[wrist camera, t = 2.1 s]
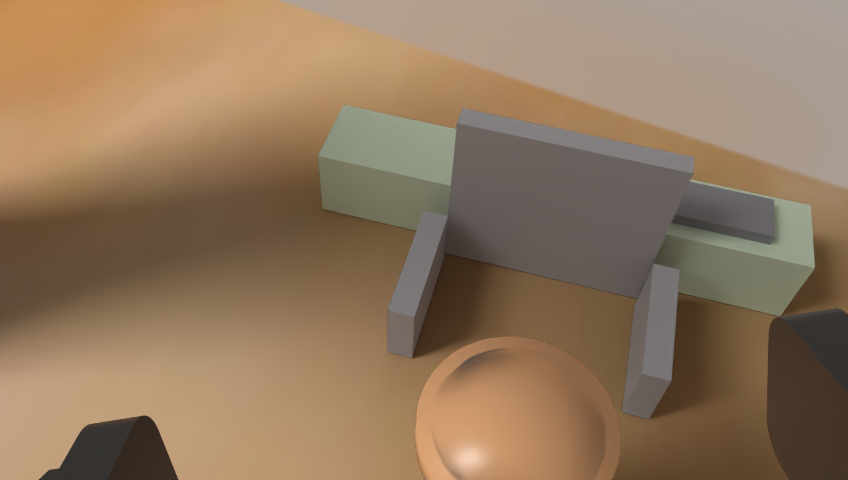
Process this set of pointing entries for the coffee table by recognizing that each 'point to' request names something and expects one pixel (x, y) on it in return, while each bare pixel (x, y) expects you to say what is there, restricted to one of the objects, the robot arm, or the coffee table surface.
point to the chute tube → (515, 416)
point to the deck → (565, 222)
